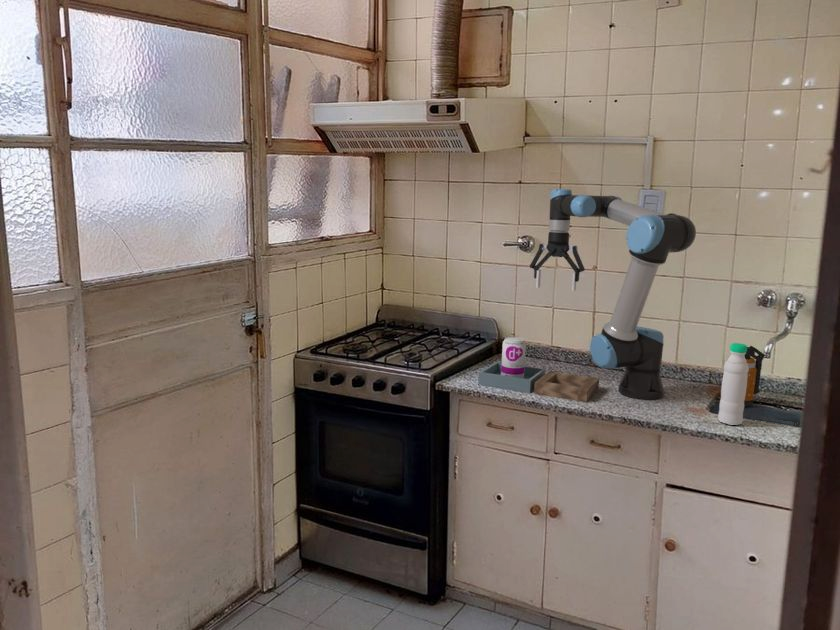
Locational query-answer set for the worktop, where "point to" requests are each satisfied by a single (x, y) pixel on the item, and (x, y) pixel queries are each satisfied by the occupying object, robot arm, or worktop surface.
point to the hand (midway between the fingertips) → (555, 288)
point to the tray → (510, 378)
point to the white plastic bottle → (734, 386)
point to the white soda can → (513, 357)
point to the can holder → (567, 386)
